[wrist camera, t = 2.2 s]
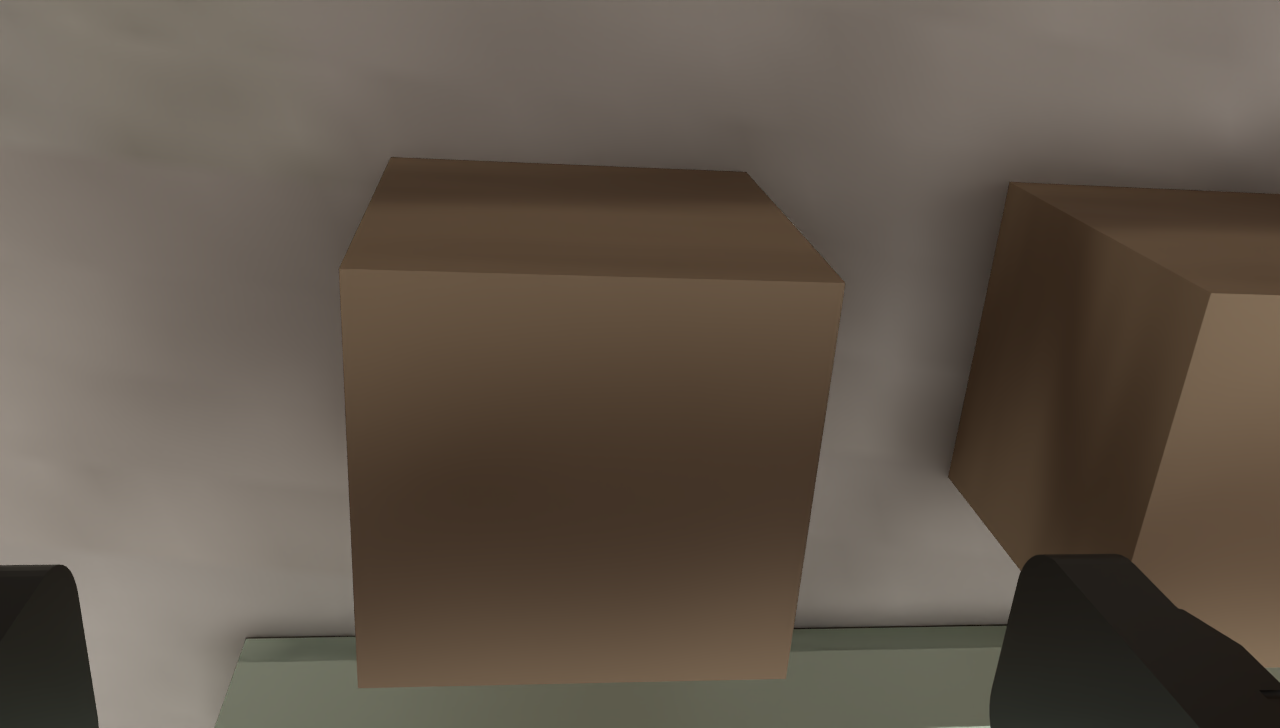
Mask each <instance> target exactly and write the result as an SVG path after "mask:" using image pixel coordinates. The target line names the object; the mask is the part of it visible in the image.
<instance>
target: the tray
mask: <svg viewBox="0 0 1280 728" xmlns="http://www.w3.org/2000/svg"><path fill="white" fill-rule="evenodd" d="M1006 628H1007V626H958V627H900V628H842V629H793V635H792V642H791V648H790V655H789V662H788V668H787V675H786V679H758V680H712V681H667V682H621V683H576V684H531V685H485V686H440V687H394V688H358V681H357V659H356V637H320V638H262V639H246V640H245V643H244V646H243V649H242V652H241V655H240V657H239V660H238V663H237V666H236V669H235V671H234V674H233V677H232V680H231V683H230V685H229V688H228V691H227V694H226V697H225V700H224V702H223V705H222V708H221V711H220V714H219V716H218V719H217V722H216V725H215V728H991V727H990V717H989V704H990V695H991V689H992V685H993V681H994V677H995V673H996V669H997V665H998V661H999V656H1000V652H1001V648H1002V644H1003V640H1004V636H1005V632H1006ZM1265 669H1266V670H1268V671H1269V672H1270V673H1271V674H1272V675H1273V676H1274V677H1275V678H1276V679H1277V680H1278V681H1279V682H1280V667H1277V668H1265Z"/></svg>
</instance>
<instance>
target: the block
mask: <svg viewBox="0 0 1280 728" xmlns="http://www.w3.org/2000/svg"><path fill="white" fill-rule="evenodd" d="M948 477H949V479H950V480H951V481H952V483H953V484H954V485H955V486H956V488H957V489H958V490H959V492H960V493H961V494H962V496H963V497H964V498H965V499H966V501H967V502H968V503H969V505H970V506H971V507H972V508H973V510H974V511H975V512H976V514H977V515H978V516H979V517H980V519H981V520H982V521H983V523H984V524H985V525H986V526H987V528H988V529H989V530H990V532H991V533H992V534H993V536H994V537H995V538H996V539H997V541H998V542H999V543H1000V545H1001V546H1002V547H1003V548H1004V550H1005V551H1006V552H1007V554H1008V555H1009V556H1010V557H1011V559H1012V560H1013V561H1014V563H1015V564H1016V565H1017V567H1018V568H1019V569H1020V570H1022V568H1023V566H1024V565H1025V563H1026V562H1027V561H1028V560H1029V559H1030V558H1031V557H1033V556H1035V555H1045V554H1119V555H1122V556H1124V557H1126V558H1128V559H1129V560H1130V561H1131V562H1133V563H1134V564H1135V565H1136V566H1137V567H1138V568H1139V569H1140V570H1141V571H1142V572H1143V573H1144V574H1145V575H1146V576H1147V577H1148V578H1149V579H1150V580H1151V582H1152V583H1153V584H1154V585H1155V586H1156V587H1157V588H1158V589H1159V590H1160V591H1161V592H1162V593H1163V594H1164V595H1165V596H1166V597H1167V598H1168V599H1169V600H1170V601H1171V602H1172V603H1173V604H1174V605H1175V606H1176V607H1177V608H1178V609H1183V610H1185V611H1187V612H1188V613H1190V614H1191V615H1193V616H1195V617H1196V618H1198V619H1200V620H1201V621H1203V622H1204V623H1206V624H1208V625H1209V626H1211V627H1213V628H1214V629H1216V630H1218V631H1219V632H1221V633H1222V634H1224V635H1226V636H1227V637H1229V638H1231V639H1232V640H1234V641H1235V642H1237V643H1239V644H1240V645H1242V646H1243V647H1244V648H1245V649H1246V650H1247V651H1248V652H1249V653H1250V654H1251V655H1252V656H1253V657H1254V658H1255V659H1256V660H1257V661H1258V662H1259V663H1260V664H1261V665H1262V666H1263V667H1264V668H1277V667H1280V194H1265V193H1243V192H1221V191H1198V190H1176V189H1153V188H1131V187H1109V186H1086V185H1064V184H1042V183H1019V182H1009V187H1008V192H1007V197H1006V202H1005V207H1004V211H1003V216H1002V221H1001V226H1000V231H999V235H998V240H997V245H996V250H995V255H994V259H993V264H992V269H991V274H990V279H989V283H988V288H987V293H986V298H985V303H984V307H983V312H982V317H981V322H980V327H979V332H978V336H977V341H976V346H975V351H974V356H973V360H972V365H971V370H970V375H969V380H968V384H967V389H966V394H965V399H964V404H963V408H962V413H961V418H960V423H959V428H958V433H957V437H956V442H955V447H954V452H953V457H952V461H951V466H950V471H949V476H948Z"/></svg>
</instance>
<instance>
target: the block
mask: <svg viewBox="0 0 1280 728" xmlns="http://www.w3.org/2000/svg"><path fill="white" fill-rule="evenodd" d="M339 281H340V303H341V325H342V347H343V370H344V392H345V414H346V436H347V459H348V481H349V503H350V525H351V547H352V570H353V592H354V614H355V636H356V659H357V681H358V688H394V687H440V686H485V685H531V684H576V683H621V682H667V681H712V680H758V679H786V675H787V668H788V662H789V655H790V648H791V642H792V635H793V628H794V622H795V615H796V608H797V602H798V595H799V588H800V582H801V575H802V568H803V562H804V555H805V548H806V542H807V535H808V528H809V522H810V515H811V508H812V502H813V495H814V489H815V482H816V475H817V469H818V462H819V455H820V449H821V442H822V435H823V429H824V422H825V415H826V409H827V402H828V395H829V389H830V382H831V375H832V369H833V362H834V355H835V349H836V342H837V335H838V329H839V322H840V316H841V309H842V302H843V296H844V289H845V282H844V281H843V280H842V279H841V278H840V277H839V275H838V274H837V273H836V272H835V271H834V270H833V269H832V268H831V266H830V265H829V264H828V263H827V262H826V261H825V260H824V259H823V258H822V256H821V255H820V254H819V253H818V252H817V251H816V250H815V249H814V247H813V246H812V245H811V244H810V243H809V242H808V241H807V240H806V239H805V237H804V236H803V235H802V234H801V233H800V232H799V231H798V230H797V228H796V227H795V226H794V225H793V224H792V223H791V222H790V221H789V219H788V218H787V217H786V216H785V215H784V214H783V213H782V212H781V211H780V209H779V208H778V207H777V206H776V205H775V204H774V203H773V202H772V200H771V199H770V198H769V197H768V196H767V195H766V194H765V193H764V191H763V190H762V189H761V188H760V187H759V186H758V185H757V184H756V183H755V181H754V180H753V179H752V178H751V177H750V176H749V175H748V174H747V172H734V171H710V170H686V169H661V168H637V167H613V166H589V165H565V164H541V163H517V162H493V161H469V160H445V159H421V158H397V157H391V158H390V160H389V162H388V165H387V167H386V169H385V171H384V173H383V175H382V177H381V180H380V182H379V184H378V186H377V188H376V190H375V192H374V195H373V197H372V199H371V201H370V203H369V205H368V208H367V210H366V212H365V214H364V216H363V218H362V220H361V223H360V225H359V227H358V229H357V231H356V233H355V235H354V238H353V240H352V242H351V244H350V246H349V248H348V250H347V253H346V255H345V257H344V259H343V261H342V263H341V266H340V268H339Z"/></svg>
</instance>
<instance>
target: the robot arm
mask: <svg viewBox="0 0 1280 728" xmlns="http://www.w3.org/2000/svg"><path fill="white" fill-rule="evenodd" d="M989 717H990V727H991V728H1280V682H1279V681H1278V680H1277V679H1276V678H1275V677H1274V676H1273V675H1272V674H1271V673H1270V672H1269V671H1268V670H1266V669H1265V668H1264V667H1263V666H1262V665H1261V664H1260V663H1259V662H1258V661H1257V660H1256V659H1255V658H1254V657H1253V656H1252V655H1251V654H1250V653H1249V652H1248V651H1247V650H1246V649H1245V648H1244V647H1243V646H1242V645H1240V644H1239V643H1237V642H1235V641H1234V640H1232V639H1231V638H1229V637H1227V636H1226V635H1224V634H1222V633H1221V632H1219V631H1218V630H1216V629H1214V628H1213V627H1211V626H1209V625H1208V624H1206V623H1204V622H1203V621H1201V620H1200V619H1198V618H1196V617H1195V616H1193V615H1191V614H1190V613H1188V612H1187V611H1185V610H1183V609H1178V608H1177V607H1176V606H1175V605H1174V604H1173V603H1172V602H1171V601H1170V600H1169V599H1168V598H1167V597H1166V596H1165V595H1164V594H1163V593H1162V592H1161V591H1160V590H1159V589H1158V588H1157V587H1156V586H1155V585H1154V584H1153V583H1152V582H1151V580H1150V579H1149V578H1148V577H1147V576H1146V575H1145V574H1144V573H1143V572H1142V571H1141V570H1140V569H1139V568H1138V567H1137V566H1136V565H1135V564H1134V563H1133V562H1131V561H1130V560H1129V559H1128V558H1126V557H1124V556H1122V555H1119V554H1045V555H1035V556H1033V557H1031V558H1030V559H1029V560H1028V561H1027V562H1026V563H1025V565H1024V566H1023V568H1022V570H1021V572H1020V576H1019V579H1018V582H1017V587H1016V591H1015V595H1014V599H1013V603H1012V607H1011V611H1010V615H1009V619H1008V624H1007V628H1006V632H1005V636H1004V640H1003V644H1002V648H1001V652H1000V656H999V661H998V665H997V669H996V673H995V677H994V681H993V685H992V689H991V695H990V704H989ZM0 728H99V727H98V716H97V710H96V703H95V697H94V691H93V685H92V678H91V672H90V666H89V659H88V653H87V647H86V641H85V634H84V628H83V622H82V615H81V609H80V603H79V597H78V591H77V586H76V583H75V580H74V577H73V575H72V573H71V571H70V570H69V569H68V568H67V567H66V566H64V565H0Z"/></svg>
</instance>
